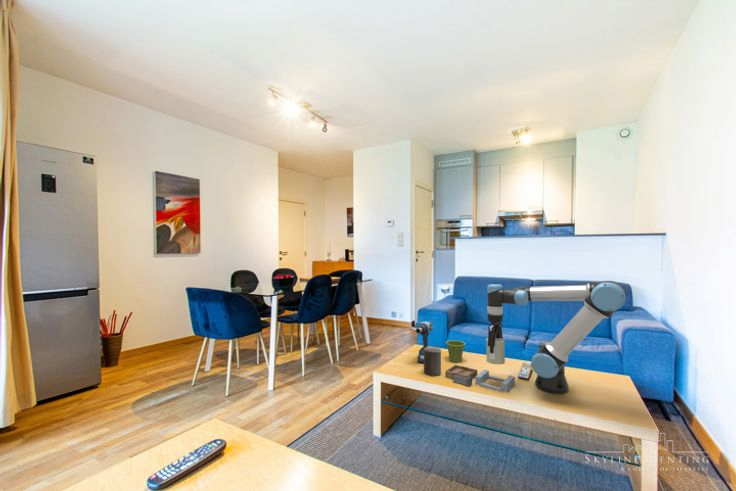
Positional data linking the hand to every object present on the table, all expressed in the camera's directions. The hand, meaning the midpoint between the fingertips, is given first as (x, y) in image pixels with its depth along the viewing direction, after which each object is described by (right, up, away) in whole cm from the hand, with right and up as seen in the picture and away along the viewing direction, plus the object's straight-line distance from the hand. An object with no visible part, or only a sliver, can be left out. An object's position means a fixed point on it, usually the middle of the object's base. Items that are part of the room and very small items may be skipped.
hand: (495, 356), depth 179 cm
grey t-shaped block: (-17, -15, +1) cm, 23 cm away
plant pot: (-12, -15, +37) cm, 41 cm away
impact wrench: (-32, -15, +34) cm, 49 cm away
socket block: (0, -15, 0) cm, 15 cm away
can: (0, -3, 0) cm, 3 cm away
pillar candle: (-30, -15, +16) cm, 37 cm away
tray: (-15, -15, +10) cm, 23 cm away
